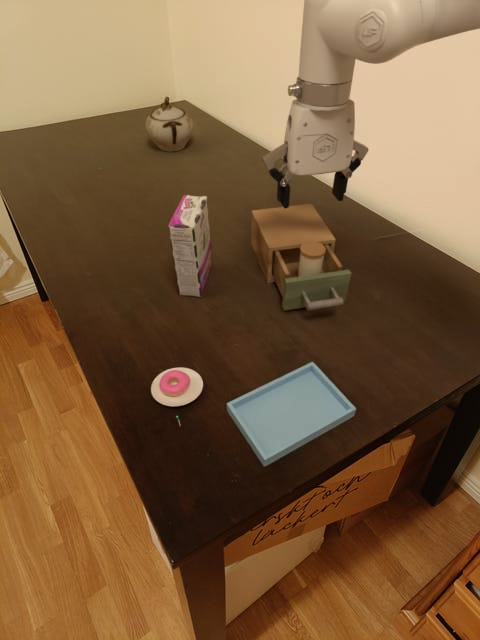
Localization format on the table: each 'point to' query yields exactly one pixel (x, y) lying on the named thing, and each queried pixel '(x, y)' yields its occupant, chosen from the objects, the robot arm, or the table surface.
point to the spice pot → (311, 258)
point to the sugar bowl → (169, 127)
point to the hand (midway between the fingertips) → (310, 200)
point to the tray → (289, 412)
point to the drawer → (310, 281)
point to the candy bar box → (191, 245)
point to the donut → (177, 387)
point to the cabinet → (285, 232)
